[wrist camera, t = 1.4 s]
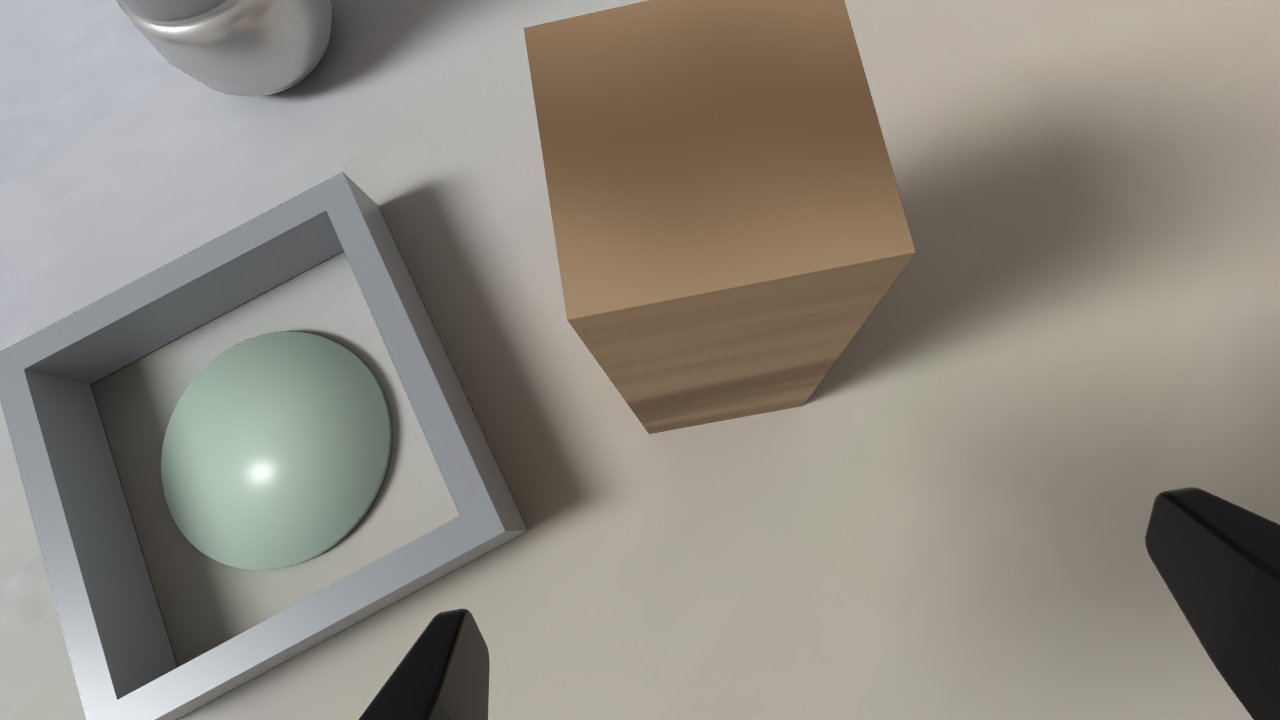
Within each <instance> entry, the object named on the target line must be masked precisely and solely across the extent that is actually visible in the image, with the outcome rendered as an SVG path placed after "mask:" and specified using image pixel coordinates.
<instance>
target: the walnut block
mask: <svg viewBox="0 0 1280 720" xmlns="http://www.w3.org/2000/svg"><path fill="white" fill-rule="evenodd" d="M524 33H525V40H526V46H527V53H528V60H529V66H530V73H531V80H532V86H533V93H534V100H535V106H536V113H537V120H538V127H539V133H540V140H541V147H542V153H543V160H544V167H545V173H546V180H547V187H548V194H549V200H550V207H551V214H552V220H553V227H554V234H555V240H556V247H557V254H558V260H559V267H560V274H561V281H562V287H563V294H564V301H565V307H566V314H567V320H568V321H569V323H570V324H571V326H572V327H573V328H574V330H575V331H576V333H577V334H578V335H579V337H580V338H581V340H582V341H583V342H584V344H585V345H586V347H587V348H588V349H589V351H590V352H591V353H592V355H593V356H594V358H595V359H596V360H597V362H598V363H599V365H600V366H601V367H602V369H603V370H604V372H605V373H606V374H607V376H608V377H609V379H610V380H611V381H612V383H613V384H614V386H615V387H616V388H617V390H618V391H619V393H620V394H621V395H622V397H623V398H624V400H625V401H626V402H627V404H628V405H629V407H630V408H631V409H632V411H633V412H634V413H635V415H636V416H637V418H638V419H639V420H640V422H641V423H642V425H643V426H644V427H645V429H646V430H647V432H648V433H649V434H651V433H657V432H662V431H668V430H673V429H679V428H684V427H690V426H695V425H701V424H706V423H712V422H717V421H723V420H728V419H734V418H739V417H745V416H750V415H755V414H761V413H766V412H772V411H777V410H783V409H788V408H794V407H799V406H803V405H804V404H805V402H806V401H807V400H808V398H809V397H810V396H811V394H812V393H813V392H814V390H815V389H816V388H817V386H818V385H819V383H820V382H821V381H822V379H823V378H824V377H825V375H826V374H827V373H828V371H829V370H830V368H831V367H832V366H833V364H834V363H835V362H836V360H837V359H838V358H839V356H840V355H841V353H842V352H843V351H844V349H845V348H846V347H847V345H848V344H849V343H850V341H851V340H852V338H853V337H854V336H855V334H856V333H857V332H858V330H859V329H860V328H861V326H862V325H863V323H864V322H865V321H866V319H867V318H868V317H869V315H870V314H871V313H872V311H873V310H874V308H875V307H876V306H877V304H878V303H879V302H880V300H881V299H882V298H883V296H884V295H885V293H886V292H887V291H888V289H889V288H890V287H891V285H892V284H893V283H894V281H895V280H896V279H897V277H898V276H899V274H900V273H901V272H902V270H903V269H904V268H905V266H906V265H907V264H908V262H909V261H910V259H911V258H912V257H913V255H914V254H915V253H916V251H915V248H914V244H913V241H912V237H911V234H910V230H909V227H908V223H907V220H906V216H905V213H904V209H903V205H902V202H901V198H900V195H899V191H898V188H897V184H896V181H895V177H894V174H893V170H892V167H891V163H890V160H889V156H888V153H887V149H886V146H885V142H884V139H883V135H882V132H881V128H880V125H879V121H878V118H877V114H876V111H875V107H874V103H873V100H872V96H871V93H870V89H869V86H868V82H867V79H866V75H865V72H864V68H863V65H862V61H861V58H860V54H859V51H858V47H857V44H856V40H855V37H854V33H853V30H852V26H851V23H850V19H849V16H848V12H847V9H846V5H845V2H844V0H649V1H645V2H640V3H636V4H631V5H626V6H622V7H617V8H613V9H608V10H604V11H599V12H595V13H590V14H586V15H581V16H577V17H572V18H568V19H563V20H559V21H554V22H549V23H545V24H540V25H536V26H531V27H527V28H524Z"/></svg>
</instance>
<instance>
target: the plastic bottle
mask: <svg viewBox="0 0 1280 720" xmlns="http://www.w3.org/2000/svg"><path fill="white" fill-rule="evenodd" d="M116 1H117V2H118V4H119V6H120V7H121V9H122V10H123V11H124V13H125V14H126V15H127V17H128V18H129V19H130V20H131V22H132V23H133V24H134V26H135V27H136V28H137V29H138V30H139V31H140V32H141V33H142V34H143V35H144V37H145V38H146V39H147V40H148V41H149V42H150V43H151V44H152V45H153V46H154V47H155V49H156V50H157V51H158V52H159V53H160V54H161V55H162V56H163V57H164V58H165V59H166V60H167V61H168V62H169V63H170V64H171V65H173V66H175V67H176V68H178V69H180V70H181V71H183V72H185V73H186V74H188V75H190V76H191V77H193V78H195V79H196V80H198V81H200V82H201V83H203V84H205V85H206V86H208V87H210V88H211V89H213V90H216V91H219V92H222V93H225V94H231V95H240V96H264V95H271V94H274V93H278V92H281V91H284V90H286V89H288V88H290V87H292V86H294V85H295V84H297V83H298V82H300V81H301V80H303V79H304V78H305V77H306V76H307V75H308V74H309V73H310V72H311V71H312V70H313V69H314V68H315V67H316V66H317V64H318V63H319V61H320V60H321V59H322V57H323V55H324V53H325V51H326V49H327V46H328V42H329V39H330V35H331V22H332V4H331V0H116Z"/></svg>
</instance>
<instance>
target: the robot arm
mask: <svg viewBox="0 0 1280 720" xmlns="http://www.w3.org/2000/svg"><path fill="white" fill-rule="evenodd" d="M1145 541H1146V548H1147V551H1148V553H1149V556H1150V558H1151V559H1152V561H1153V563H1154V565H1155V566H1156V568H1157V570H1158V571H1159V573H1160V575H1161V576H1162V578H1163V580H1164V581H1165V583H1166V585H1167V587H1168V588H1169V590H1170V592H1171V593H1172V595H1173V597H1174V598H1175V600H1176V602H1177V603H1178V605H1179V607H1180V608H1181V610H1182V612H1183V614H1184V615H1185V617H1186V619H1187V620H1188V622H1189V624H1190V625H1191V627H1192V629H1193V630H1194V632H1195V634H1196V635H1197V637H1198V639H1199V641H1200V642H1201V644H1202V646H1203V647H1204V649H1205V651H1206V652H1207V654H1208V655H1209V657H1210V659H1211V660H1212V662H1213V663H1214V665H1215V666H1216V668H1217V670H1218V671H1219V672H1220V674H1221V675H1222V677H1223V678H1224V679H1225V681H1226V682H1227V684H1228V685H1229V687H1230V688H1231V689H1232V691H1233V692H1234V693H1235V695H1236V696H1237V698H1238V699H1239V700H1240V702H1241V703H1242V704H1243V706H1244V707H1245V709H1246V710H1247V711H1248V713H1249V714H1250V715H1251V717H1252V718H1253V719H1254V720H1280V525H1279V524H1277V523H1275V522H1272V521H1270V520H1268V519H1266V518H1264V517H1261V516H1259V515H1257V514H1255V513H1252V512H1250V511H1248V510H1246V509H1244V508H1241V507H1239V506H1237V505H1235V504H1233V503H1230V502H1228V501H1226V500H1224V499H1222V498H1219V497H1217V496H1215V495H1213V494H1210V493H1208V492H1206V491H1204V490H1201V489H1198V488H1182V489H1176V490H1170V491H1164V492H1162V493H1160V494H1159V495H1158V496H1157V497H1156V498H1155V501H1154V505H1153V509H1152V512H1151V516H1150V520H1149V524H1148V528H1147V532H1146V537H1145ZM488 696H489V653H488V648H487V645H486V643H485V641H484V639H483V637H482V635H481V633H480V630H479V628H478V626H477V624H476V622H475V620H474V618H473V616H472V614H471V613H470V611H468V610H467V609H458V610H452V611H446V612H441V613H439V614H437V615H436V616H435V617H434V618H433V619H432V621H431V622H430V623H429V625H428V626H427V627H426V629H425V630H424V631H423V633H422V634H421V636H420V637H419V638H418V640H417V641H416V642H415V644H414V645H413V646H412V648H411V649H410V651H409V652H408V653H407V655H406V656H405V657H404V659H403V660H402V661H401V663H400V664H399V665H398V667H397V668H396V670H395V671H394V672H393V674H392V675H391V676H390V678H389V679H388V680H387V682H386V683H385V685H384V686H383V687H382V689H381V690H380V691H379V693H378V694H377V695H376V697H375V698H374V700H373V701H372V702H371V704H370V705H369V706H368V708H367V709H366V710H365V712H364V713H363V714H362V716H361V717H360V719H359V720H488Z"/></svg>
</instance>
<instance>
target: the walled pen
mask: <svg viewBox="0 0 1280 720" xmlns="http://www.w3.org/2000/svg"><path fill="white" fill-rule="evenodd" d="M342 251H344V252H345V254H346V256H347V259H348V261H349V263H350V266H351V268H352V270H353V272H354V275H355V277H356V279H357V282H358V284H359V286H360V289H361V291H362V293H363V295H364V298H365V300H366V302H367V305H368V307H369V309H370V311H371V314H372V316H373V318H374V321H375V323H376V325H377V327H378V330H379V332H380V334H381V337H382V339H383V341H384V343H385V346H386V348H387V350H388V353H389V355H390V357H391V359H392V362H393V364H394V366H395V369H396V371H397V373H398V375H399V378H400V380H401V382H402V385H403V387H404V389H405V391H406V394H407V396H408V398H409V401H410V403H411V405H412V407H413V410H414V412H415V414H416V417H417V419H418V421H419V423H420V426H421V428H422V430H423V433H424V435H425V437H426V439H427V442H428V444H429V446H430V449H431V451H432V453H433V455H434V458H435V460H436V462H437V465H438V467H439V469H440V471H441V474H442V476H443V478H444V481H445V483H446V485H447V487H448V490H449V492H450V494H451V497H452V499H453V501H454V503H455V506H456V508H457V510H458V513H459V515H460V516H459V517H457V518H455V519H453V520H451V521H450V522H448V523H446V524H444V525H442V526H440V527H438V528H437V529H435V530H433V531H431V532H429V533H427V534H425V535H424V536H422V537H420V538H418V539H416V540H414V541H412V542H411V543H409V544H407V545H405V546H403V547H401V548H399V549H397V550H396V551H394V552H392V553H390V554H388V555H386V556H384V557H383V558H381V559H379V560H377V561H375V562H373V563H371V564H370V565H368V566H366V567H364V568H362V569H360V570H358V571H356V572H355V573H353V574H351V575H349V576H347V577H345V578H343V579H342V580H340V581H338V582H336V583H334V584H332V585H330V586H329V587H327V588H325V589H323V590H321V591H319V592H317V593H315V594H314V595H312V596H310V597H308V598H306V599H304V600H302V601H301V602H299V603H297V604H295V605H293V606H291V607H289V608H288V609H286V610H284V611H282V612H280V613H278V614H276V615H275V616H273V617H271V618H269V619H267V620H265V621H263V622H261V623H260V624H258V625H256V626H254V627H252V628H250V629H248V630H247V631H245V632H243V633H241V634H239V635H237V636H235V637H234V638H232V639H230V640H228V641H226V642H224V643H222V644H220V645H219V646H217V647H215V648H213V649H211V650H209V651H207V652H206V653H204V654H202V655H200V656H198V657H196V658H194V659H193V660H191V661H189V662H187V663H185V664H183V665H181V666H179V667H178V668H177V665H176V661H175V658H174V655H173V652H172V648H171V645H170V642H169V639H168V635H167V632H166V629H165V626H164V622H163V619H162V616H161V613H160V609H159V606H158V603H157V600H156V596H155V593H154V590H153V587H152V583H151V580H150V577H149V574H148V571H147V567H146V564H145V561H144V558H143V554H142V551H141V548H140V545H139V541H138V538H137V535H136V532H135V528H134V525H133V522H132V519H131V515H130V512H129V509H128V506H127V502H126V499H125V496H124V493H123V489H122V486H121V483H120V480H119V476H118V473H117V470H116V467H115V463H114V460H113V457H112V454H111V450H110V447H109V444H108V441H107V437H106V434H105V431H104V428H103V424H102V421H101V418H100V415H99V411H98V408H97V405H96V402H95V398H94V395H93V392H92V389H91V385H90V384H92V383H94V382H96V381H98V380H99V379H101V378H103V377H105V376H107V375H109V374H111V373H113V372H115V371H116V370H118V369H120V368H122V367H124V366H126V365H128V364H130V363H132V362H134V361H135V360H137V359H139V358H141V357H143V356H145V355H147V354H149V353H151V352H153V351H154V350H156V349H158V348H160V347H162V346H164V345H166V344H168V343H170V342H171V341H173V340H175V339H177V338H179V337H181V336H183V335H185V334H187V333H189V332H190V331H192V330H194V329H196V328H198V327H200V326H202V325H204V324H206V323H208V322H209V321H211V320H213V319H215V318H217V317H219V316H221V315H223V314H225V313H226V312H228V311H230V310H232V309H234V308H236V307H238V306H240V305H242V304H244V303H245V302H247V301H249V300H251V299H253V298H255V297H257V296H259V295H261V294H263V293H264V292H266V291H268V290H270V289H272V288H274V287H276V286H278V285H280V284H281V283H283V282H285V281H287V280H289V279H291V278H293V277H295V276H297V275H299V274H300V273H302V272H304V271H306V270H308V269H310V268H312V267H314V266H316V265H318V264H319V263H321V262H323V261H325V260H327V259H329V258H331V257H333V256H335V255H336V254H338V253H340V252H342ZM0 401H1V405H2V408H3V412H4V416H5V419H6V423H7V427H8V431H9V434H10V438H11V442H12V445H13V449H14V453H15V457H16V460H17V464H18V468H19V471H20V475H21V479H22V483H23V486H24V490H25V494H26V497H27V501H28V505H29V509H30V512H31V516H32V520H33V523H34V527H35V531H36V535H37V538H38V542H39V546H40V549H41V553H42V557H43V561H44V564H45V568H46V572H47V575H48V579H49V583H50V587H51V590H52V594H53V598H54V601H55V605H56V609H57V613H58V616H59V620H60V624H61V627H62V631H63V635H64V639H65V642H66V646H67V650H68V653H69V657H70V661H71V665H72V668H73V672H74V676H75V679H76V683H77V687H78V691H79V694H80V698H81V702H82V705H83V709H84V713H85V717H86V720H177V719H179V718H181V717H182V716H184V715H186V714H188V713H190V712H192V711H194V710H195V709H197V708H199V707H201V706H203V705H205V704H207V703H208V702H210V701H212V700H214V699H216V698H218V697H220V696H221V695H223V694H225V693H227V692H229V691H231V690H233V689H234V688H236V687H238V686H240V685H242V684H244V683H246V682H247V681H249V680H251V679H253V678H255V677H257V676H259V675H261V674H262V673H264V672H266V671H268V670H270V669H272V668H274V667H275V666H277V665H279V664H281V663H283V662H285V661H287V660H288V659H290V658H292V657H294V656H296V655H298V654H300V653H301V652H303V651H305V650H307V649H309V648H311V647H313V646H314V645H316V644H318V643H320V642H322V641H324V640H326V639H327V638H329V637H331V636H333V635H335V634H337V633H339V632H340V631H342V630H344V629H346V628H348V627H350V626H352V625H353V624H355V623H357V622H359V621H361V620H363V619H365V618H366V617H368V616H370V615H372V614H374V613H376V612H378V611H379V610H381V609H383V608H385V607H387V606H389V605H391V604H392V603H394V602H396V601H398V600H400V599H402V598H404V597H405V596H407V595H409V594H411V593H413V592H415V591H417V590H418V589H420V588H422V587H424V586H426V585H428V584H430V583H431V582H433V581H435V580H437V579H439V578H441V577H443V576H444V575H446V574H448V573H450V572H452V571H454V570H456V569H457V568H459V567H461V566H463V565H465V564H467V563H469V562H470V561H472V560H474V559H476V558H478V557H480V556H482V555H483V554H485V553H487V552H489V551H491V550H493V549H495V548H496V547H498V546H500V545H502V544H504V543H506V542H508V541H509V540H511V539H513V538H515V537H517V536H519V535H521V534H522V533H524V532H526V531H528V530H527V528H526V526H525V523H524V521H523V519H522V517H521V515H520V513H519V510H518V508H517V506H516V504H515V502H514V500H513V497H512V495H511V493H510V491H509V489H508V487H507V484H506V482H505V480H504V478H503V476H502V474H501V471H500V469H499V467H498V465H497V463H496V461H495V458H494V456H493V454H492V452H491V450H490V448H489V445H488V443H487V441H486V439H485V437H484V435H483V432H482V430H481V428H480V426H479V424H478V422H477V419H476V417H475V415H474V413H473V411H472V409H471V406H470V404H469V402H468V400H467V398H466V396H465V393H464V391H463V389H462V387H461V385H460V383H459V380H458V378H457V376H456V374H455V372H454V370H453V367H452V365H451V363H450V361H449V359H448V357H447V354H446V352H445V350H444V348H443V346H442V344H441V341H440V339H439V337H438V335H437V333H436V331H435V328H434V326H433V324H432V322H431V320H430V318H429V315H428V313H427V311H426V309H425V307H424V305H423V302H422V300H421V298H420V296H419V294H418V291H417V289H416V287H415V285H414V283H413V281H412V278H411V276H410V274H409V272H408V270H407V268H406V265H405V263H404V261H403V259H402V257H401V255H400V252H399V250H398V248H397V246H396V244H395V242H394V239H393V237H392V235H391V233H390V231H389V229H388V226H387V224H386V222H385V220H384V218H383V216H382V213H381V211H380V209H379V207H378V205H377V204H376V203H375V202H374V201H373V200H372V199H371V198H370V197H369V196H367V195H366V194H365V193H364V192H363V191H362V190H361V189H360V188H359V187H358V186H357V185H356V184H355V183H354V182H353V181H352V180H351V179H350V178H349V177H348V176H346V175H345V174H344V173H343V172H341V173H339V174H338V175H336V176H334V177H332V178H330V179H328V180H326V181H324V182H322V183H320V184H319V185H317V186H315V187H313V188H311V189H309V190H307V191H305V192H303V193H301V194H299V195H298V196H296V197H294V198H292V199H290V200H288V201H286V202H284V203H282V204H280V205H279V206H277V207H275V208H273V209H271V210H269V211H267V212H265V213H263V214H261V215H259V216H258V217H256V218H254V219H252V220H250V221H248V222H246V223H244V224H242V225H240V226H239V227H237V228H235V229H233V230H231V231H229V232H227V233H225V234H223V235H221V236H219V237H218V238H216V239H214V240H212V241H210V242H208V243H206V244H204V245H202V246H200V247H199V248H197V249H195V250H193V251H191V252H189V253H187V254H185V255H183V256H181V257H179V258H178V259H176V260H174V261H172V262H170V263H168V264H166V265H164V266H162V267H160V268H159V269H157V270H155V271H153V272H151V273H149V274H147V275H145V276H143V277H141V278H139V279H138V280H136V281H134V282H132V283H130V284H128V285H126V286H124V287H122V288H120V289H118V290H117V291H115V292H113V293H111V294H109V295H107V296H105V297H103V298H101V299H99V300H98V301H96V302H94V303H92V304H90V305H88V306H86V307H84V308H82V309H80V310H78V311H77V312H75V313H73V314H71V315H69V316H67V317H65V318H63V319H61V320H59V321H58V322H56V323H54V324H52V325H50V326H48V327H46V328H44V329H42V330H40V331H38V332H37V333H35V334H33V335H31V336H29V337H27V338H25V339H23V340H21V341H19V342H18V343H16V344H14V345H12V346H10V347H8V348H6V349H4V350H2V351H0ZM390 451H391V421H390V416H389V411H388V406H387V403H386V400H385V397H384V394H383V391H382V389H381V387H380V385H379V383H378V382H377V380H376V378H375V377H374V375H373V374H372V372H371V371H370V370H369V368H368V367H367V366H366V365H365V364H364V363H363V362H362V361H361V360H360V359H359V358H358V357H357V356H356V355H355V354H353V353H352V352H351V351H349V350H348V349H346V348H345V347H343V346H341V345H339V344H338V343H336V342H334V341H332V340H329V339H326V338H324V337H321V336H319V335H314V334H310V333H305V332H294V331H287V332H274V333H269V334H264V335H260V336H257V337H254V338H251V339H248V340H246V341H243V342H241V343H239V344H237V345H235V346H233V347H231V348H230V349H228V350H226V351H225V352H223V353H222V354H220V355H219V356H218V357H216V358H215V359H214V360H212V361H211V362H210V363H209V364H208V365H207V366H206V367H205V368H204V369H203V370H202V371H201V372H200V373H198V375H197V376H196V377H195V378H194V380H193V381H192V382H191V383H190V384H189V386H188V387H187V389H186V390H185V392H184V393H183V395H182V396H181V398H180V399H179V401H178V403H177V405H176V407H175V409H174V411H173V413H172V416H171V418H170V421H169V423H168V426H167V429H166V433H165V437H164V441H163V447H162V454H161V479H162V488H163V492H164V496H165V500H166V504H167V506H168V509H169V511H170V514H171V516H172V518H173V520H174V521H175V523H176V525H177V527H178V528H179V530H180V531H181V532H182V534H183V535H184V536H185V537H186V539H187V540H188V541H189V542H190V543H191V544H192V545H194V546H195V547H196V548H197V549H198V550H199V551H201V552H202V553H204V554H205V555H207V556H208V557H210V558H211V559H213V560H216V561H218V562H220V563H222V564H225V565H228V566H232V567H235V568H239V569H247V570H273V569H279V568H286V567H291V566H294V565H297V564H300V563H304V562H306V561H308V560H310V559H313V558H315V557H317V556H319V555H321V554H322V553H324V552H326V551H327V550H329V549H330V548H332V547H333V546H335V545H336V544H337V543H338V542H340V541H341V540H342V539H343V538H345V537H346V536H347V535H348V534H349V533H350V532H351V531H352V530H353V529H354V528H355V527H356V526H357V524H358V523H359V522H360V521H361V519H362V518H363V517H364V515H365V514H366V513H367V511H368V510H369V508H370V506H371V505H372V503H373V501H374V500H375V498H376V496H377V494H378V492H379V489H380V487H381V485H382V483H383V480H384V477H385V473H386V470H387V467H388V462H389V456H390Z"/></svg>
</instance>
